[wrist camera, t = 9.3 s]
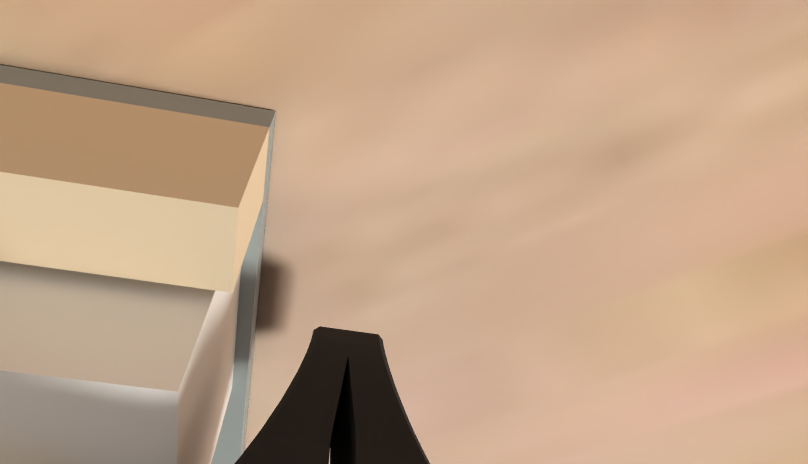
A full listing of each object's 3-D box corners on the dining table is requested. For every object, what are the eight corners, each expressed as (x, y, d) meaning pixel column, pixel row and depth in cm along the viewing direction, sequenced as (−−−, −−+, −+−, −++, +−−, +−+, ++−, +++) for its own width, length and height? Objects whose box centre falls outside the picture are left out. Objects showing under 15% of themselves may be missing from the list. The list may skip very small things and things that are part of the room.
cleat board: (232, 577, 22) (203, 712, 18) (-103, 546, 20) (-195, 684, 17) (275, 111, 13) (238, 207, 10) (-283, 17, 12) (-527, 91, 9)
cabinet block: (231, 388, 16) (164, 630, 11) (11, 361, 16) (-157, 604, 11) (245, 208, 14) (165, 425, 9) (-19, 168, 13) (-258, 376, 8)
